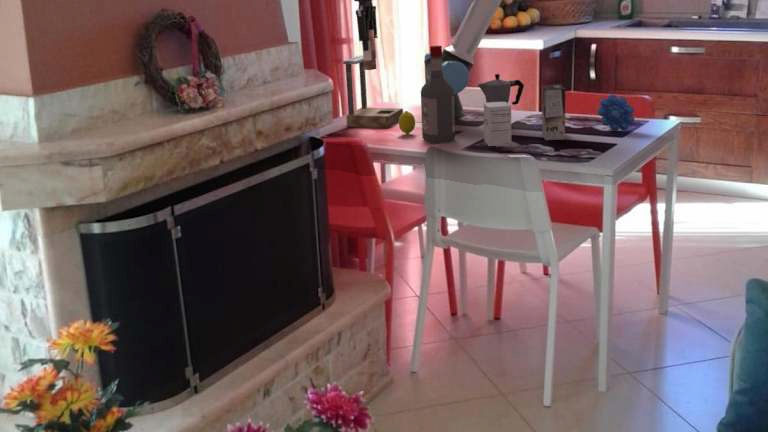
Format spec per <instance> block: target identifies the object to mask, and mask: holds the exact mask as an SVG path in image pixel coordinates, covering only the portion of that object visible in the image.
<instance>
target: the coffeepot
mask: <svg viewBox="0 0 768 432" xmlns="http://www.w3.org/2000/svg"><path fill="white" fill-rule="evenodd" d="M494 76H495V79H492V80H489V81H485V82H482V83H478V84H477V87H479V89H480V90H481V91H482V93H483V95H484V96H485V97H484V98H485V103H491V102H507V103H508V104H509V102H510V96H511V95H510V94H511V87H516V86H518V88H517V93H516V95H515V100H514V101H511V104H512V105H514V106H516V105H518V104H520V103H519V102H520V99H521V97H522V93H523V91H524V87H525V85H524V83H523V82H522V81H521V80H520V79H514V80H504V79H500V74H499V73H496V74H494ZM511 127H512V124H511Z"/></svg>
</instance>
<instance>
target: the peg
mask: <svg viewBox="0 0 768 432" xmlns="http://www.w3.org/2000/svg"><path fill="white" fill-rule="evenodd" d="M374 39H375V38H374V31H373V30H369V41H370V43H371V55H372V60H366V61H364V66H365V71H373V70H377V55H376V56H375V45H376V42H375V43H374Z"/></svg>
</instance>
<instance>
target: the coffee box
mask: <svg viewBox="0 0 768 432" xmlns="http://www.w3.org/2000/svg"><path fill="white" fill-rule="evenodd" d="M541 136H542V137H543V138H544V140H545V141H554V140H555V141H556V140H557V141H558V140H565V139H566V88H565V87H564V86H563V85H562V84H560V83H559V84H544V85H541Z"/></svg>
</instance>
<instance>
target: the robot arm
mask: <svg viewBox="0 0 768 432" xmlns="http://www.w3.org/2000/svg"><path fill="white" fill-rule="evenodd" d="M353 1H354V2H358V9H356V10H355V15H356V21H357V22H356V23H357V33H358V41H359V42H361V45H362V55H363V59H364V61H366V60H372V55H371V43H370V41H369V30H373V31H374V43H375V56H376V57H377V49H376V48H377V47H376V39H378V30H377V29H378V27H377V6H376V5H373V0H353ZM502 1H503V0H473V1H472V3H471V5H470V6H469V8H468V9H467V12H466V14H465V15H464V18H463V20H462V21H461V23H460V26H459V28H458V29H457V31H456V34H455V36H454V38H453V39H452V42H451V43H450V45H449V46H447V47H444V48H443V49H442V56H441V57H442V73H443V77H444V78H445V79H446V80H447V81H448V82H449V84H450V85H451V86H452V87H453V89H454V112H455V118H459V117H463V115H464V107H463V104H462V102H461V99H460V96H459V93H461V92H462V91H464V90H465V88H466V87H467V86H468V84H469V80H470V73H471V70H472V69H473V67H474V65H475V62H474V58H473V57H474V55H475V53H476V52H477V49H478V47H479V45H480V43H481V42H482V40H483V38H484V37H485V36H484V35H485V33H486V32H487V30H488V28H489V26H490V24H491V22H492V20H493V18H494V17H495V14H496V12H497V10H498V8H499V7H500V5H501V3H502ZM423 63H424V76H425V77H424V79H425V81H424V82H425V83H426V82H427V81H428V80H429V78H430V75H431V56H430V52H427V53H425V55H424V61H423ZM425 83H424V84H425Z"/></svg>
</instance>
